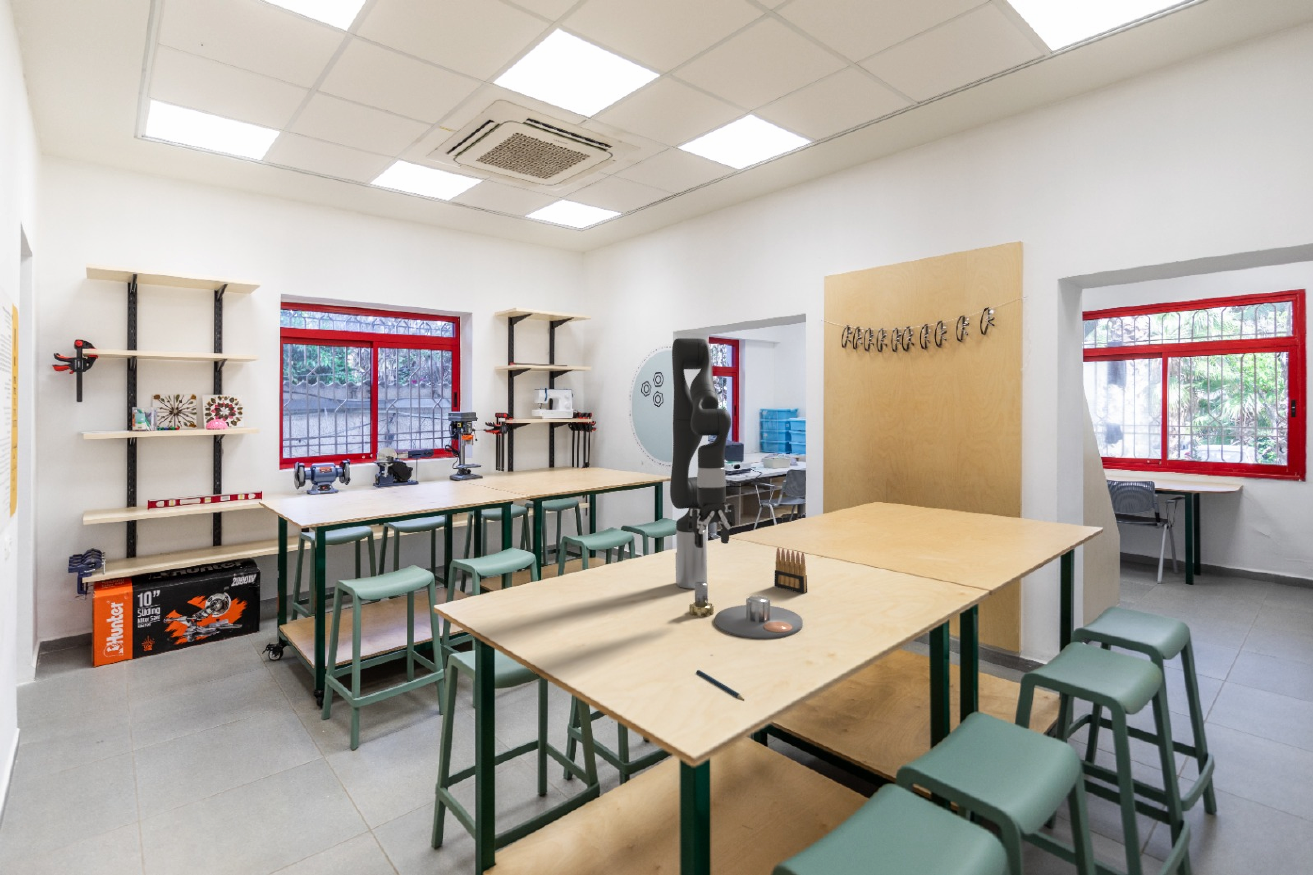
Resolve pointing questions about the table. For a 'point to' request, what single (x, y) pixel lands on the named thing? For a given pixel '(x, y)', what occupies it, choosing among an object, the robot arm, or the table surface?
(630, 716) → the table surface
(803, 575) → the ammunition clip
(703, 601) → the planet gear
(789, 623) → the carrier plate
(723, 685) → the pencil
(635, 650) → the table surface
